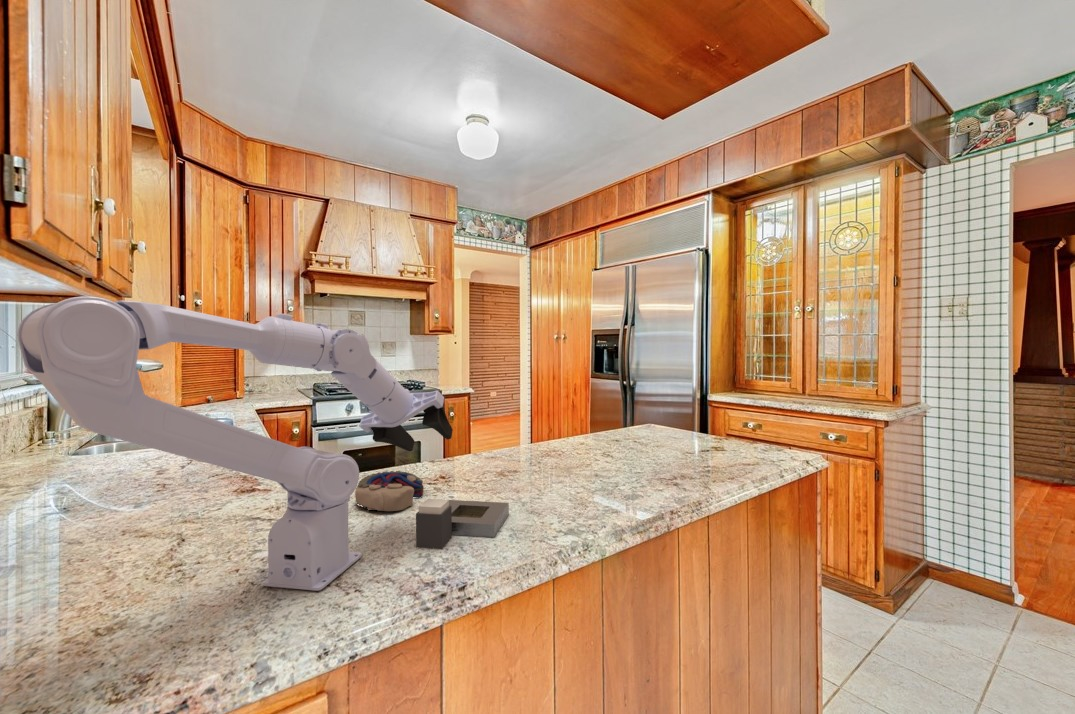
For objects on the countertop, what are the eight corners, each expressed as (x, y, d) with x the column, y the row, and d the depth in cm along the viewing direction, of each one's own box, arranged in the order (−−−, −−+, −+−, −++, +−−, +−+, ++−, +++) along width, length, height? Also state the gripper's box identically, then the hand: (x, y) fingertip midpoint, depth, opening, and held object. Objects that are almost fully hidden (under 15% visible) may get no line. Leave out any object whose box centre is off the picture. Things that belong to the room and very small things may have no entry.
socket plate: (494, 537, 69) (494, 520, 69) (426, 533, 70) (426, 516, 70) (508, 514, 78) (508, 499, 78) (449, 510, 80) (449, 496, 80)
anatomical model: (429, 488, 95) (429, 466, 95) (409, 516, 78) (409, 489, 78) (371, 489, 94) (371, 467, 94) (340, 517, 78) (340, 490, 78)
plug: (442, 549, 65) (441, 508, 65) (416, 547, 65) (415, 506, 65) (451, 537, 69) (451, 499, 69) (427, 536, 69) (426, 498, 69)
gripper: (424, 357, 68) (470, 409, 76) (348, 386, 72) (400, 432, 80) (416, 391, 63) (466, 443, 71) (335, 420, 67) (391, 466, 75)
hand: (430, 440), depth 75 cm, fingers open, 7 cm apart
